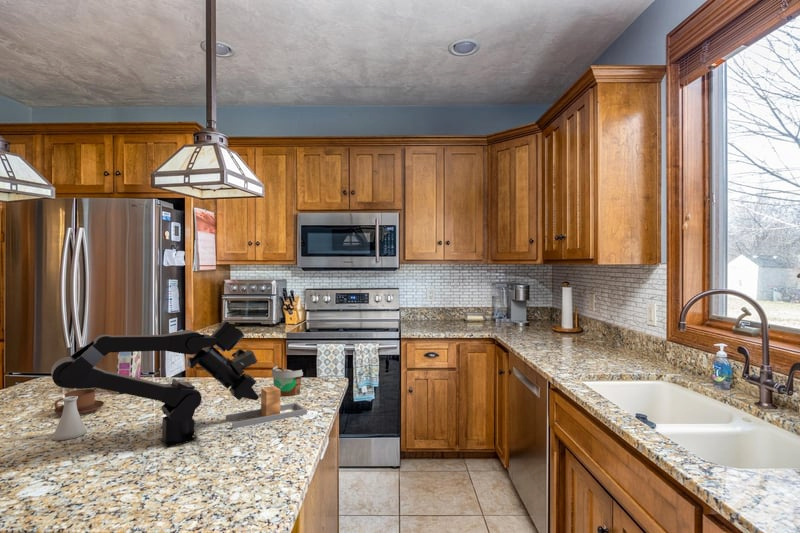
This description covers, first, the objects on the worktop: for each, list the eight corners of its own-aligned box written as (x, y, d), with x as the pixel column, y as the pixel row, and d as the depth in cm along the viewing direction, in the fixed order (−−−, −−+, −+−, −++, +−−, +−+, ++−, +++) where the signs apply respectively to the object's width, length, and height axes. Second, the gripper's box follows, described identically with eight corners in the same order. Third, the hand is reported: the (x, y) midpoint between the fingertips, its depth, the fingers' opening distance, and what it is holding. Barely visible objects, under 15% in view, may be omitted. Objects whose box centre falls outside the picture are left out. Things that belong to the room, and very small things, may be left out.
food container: (262, 398, 144) (263, 369, 144) (275, 393, 149) (276, 365, 149) (290, 403, 138) (290, 373, 138) (302, 398, 143) (303, 369, 144)
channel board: (233, 434, 111) (233, 423, 111) (225, 424, 118) (225, 414, 119) (307, 419, 123) (307, 409, 123) (296, 411, 131) (296, 402, 131)
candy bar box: (132, 393, 148) (133, 347, 148) (115, 394, 146) (116, 347, 147) (141, 385, 158) (142, 342, 159) (126, 386, 157) (127, 342, 157)
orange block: (266, 420, 118) (266, 391, 118) (260, 415, 122) (261, 387, 122) (280, 417, 121) (280, 389, 121) (274, 412, 125) (274, 385, 125)
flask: (45, 442, 105) (46, 402, 105) (60, 432, 112) (61, 394, 112) (79, 439, 107) (79, 400, 107) (91, 429, 114) (92, 392, 114)
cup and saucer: (72, 421, 120) (72, 399, 120) (44, 416, 124) (45, 395, 124) (112, 408, 132) (113, 389, 132) (86, 404, 136) (87, 385, 136)
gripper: (248, 346, 109) (288, 383, 115) (230, 337, 124) (267, 370, 130) (215, 381, 104) (259, 417, 110) (201, 367, 119) (240, 399, 126)
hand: (257, 398), depth 119 cm, fingers closed
